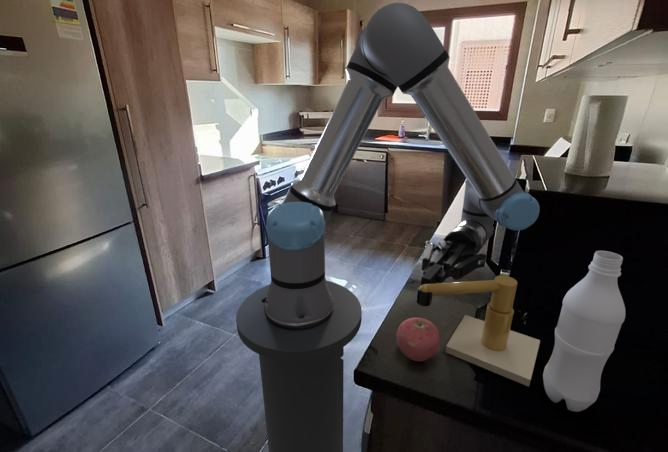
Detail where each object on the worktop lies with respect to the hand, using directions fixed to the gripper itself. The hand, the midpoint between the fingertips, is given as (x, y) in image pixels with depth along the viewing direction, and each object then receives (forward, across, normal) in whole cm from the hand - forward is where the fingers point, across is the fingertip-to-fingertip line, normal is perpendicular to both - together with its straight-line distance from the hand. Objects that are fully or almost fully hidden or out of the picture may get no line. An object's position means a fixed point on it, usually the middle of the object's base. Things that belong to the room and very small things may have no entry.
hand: (425, 285), depth 60 cm
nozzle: (-3, -6, -4) cm, 8 cm away
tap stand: (-8, -11, -14) cm, 20 cm away
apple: (+2, 0, -14) cm, 14 cm away
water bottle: (-3, -23, -14) cm, 27 cm away
